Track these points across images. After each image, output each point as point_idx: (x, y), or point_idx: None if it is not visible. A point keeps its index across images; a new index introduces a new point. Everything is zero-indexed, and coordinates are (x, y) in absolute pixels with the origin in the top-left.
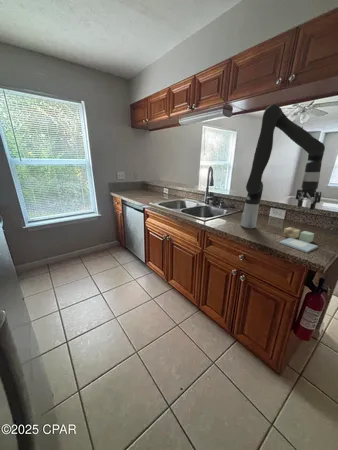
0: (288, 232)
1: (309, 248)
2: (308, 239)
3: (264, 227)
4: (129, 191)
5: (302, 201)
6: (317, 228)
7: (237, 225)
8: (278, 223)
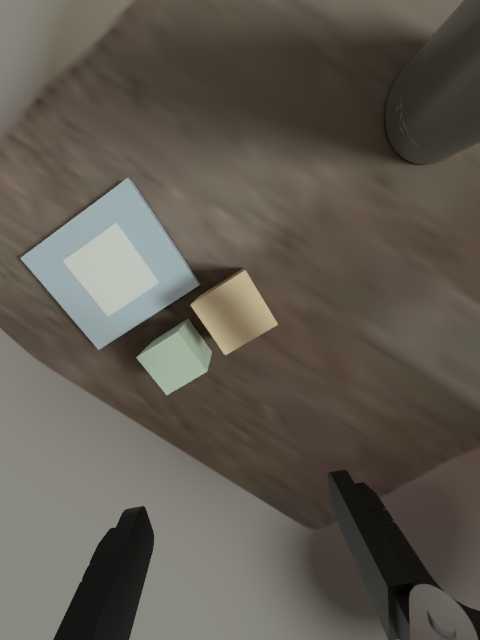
0: (221, 283)
1: (55, 289)
2: (149, 345)
3: (394, 231)
4: None
5: (380, 619)
6: None
7: None
8: (447, 360)
